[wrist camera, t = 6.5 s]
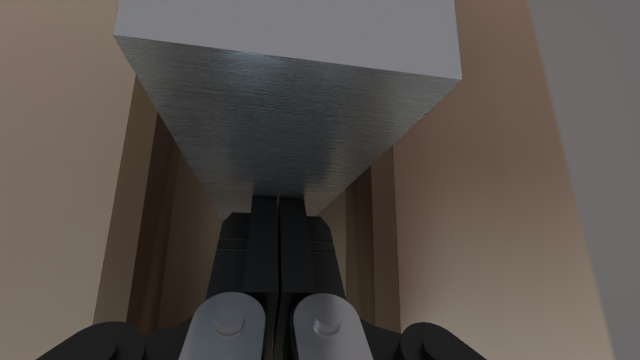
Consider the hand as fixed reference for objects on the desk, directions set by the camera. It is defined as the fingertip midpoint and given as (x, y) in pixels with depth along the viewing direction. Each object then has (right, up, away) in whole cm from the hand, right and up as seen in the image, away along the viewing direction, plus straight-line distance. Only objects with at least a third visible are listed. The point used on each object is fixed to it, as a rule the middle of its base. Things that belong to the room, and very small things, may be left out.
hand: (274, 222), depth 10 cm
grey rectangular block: (-1, +4, +5) cm, 7 cm away
